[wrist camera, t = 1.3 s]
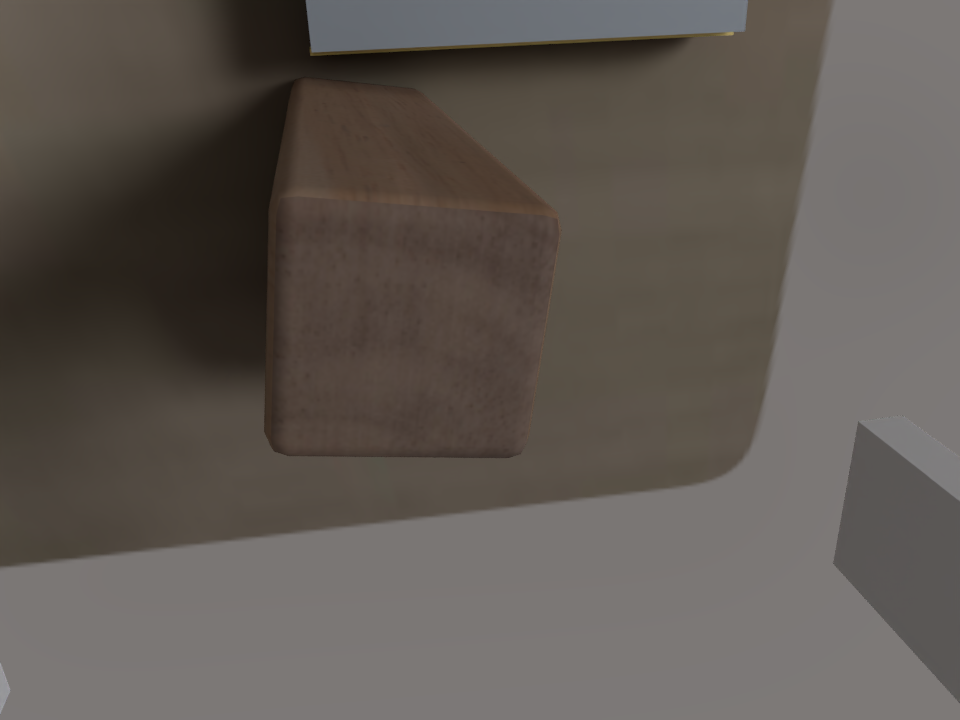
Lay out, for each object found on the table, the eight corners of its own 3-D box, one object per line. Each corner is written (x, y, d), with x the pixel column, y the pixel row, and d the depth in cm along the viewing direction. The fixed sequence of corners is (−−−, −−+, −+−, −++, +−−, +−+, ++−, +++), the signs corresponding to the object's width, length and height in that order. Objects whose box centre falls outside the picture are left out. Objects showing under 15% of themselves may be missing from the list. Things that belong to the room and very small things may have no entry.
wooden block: (403, 328, 32) (498, 668, 16) (284, 324, 31) (258, 679, 15) (424, 88, 29) (573, 212, 13) (291, 74, 28) (267, 188, 12)
